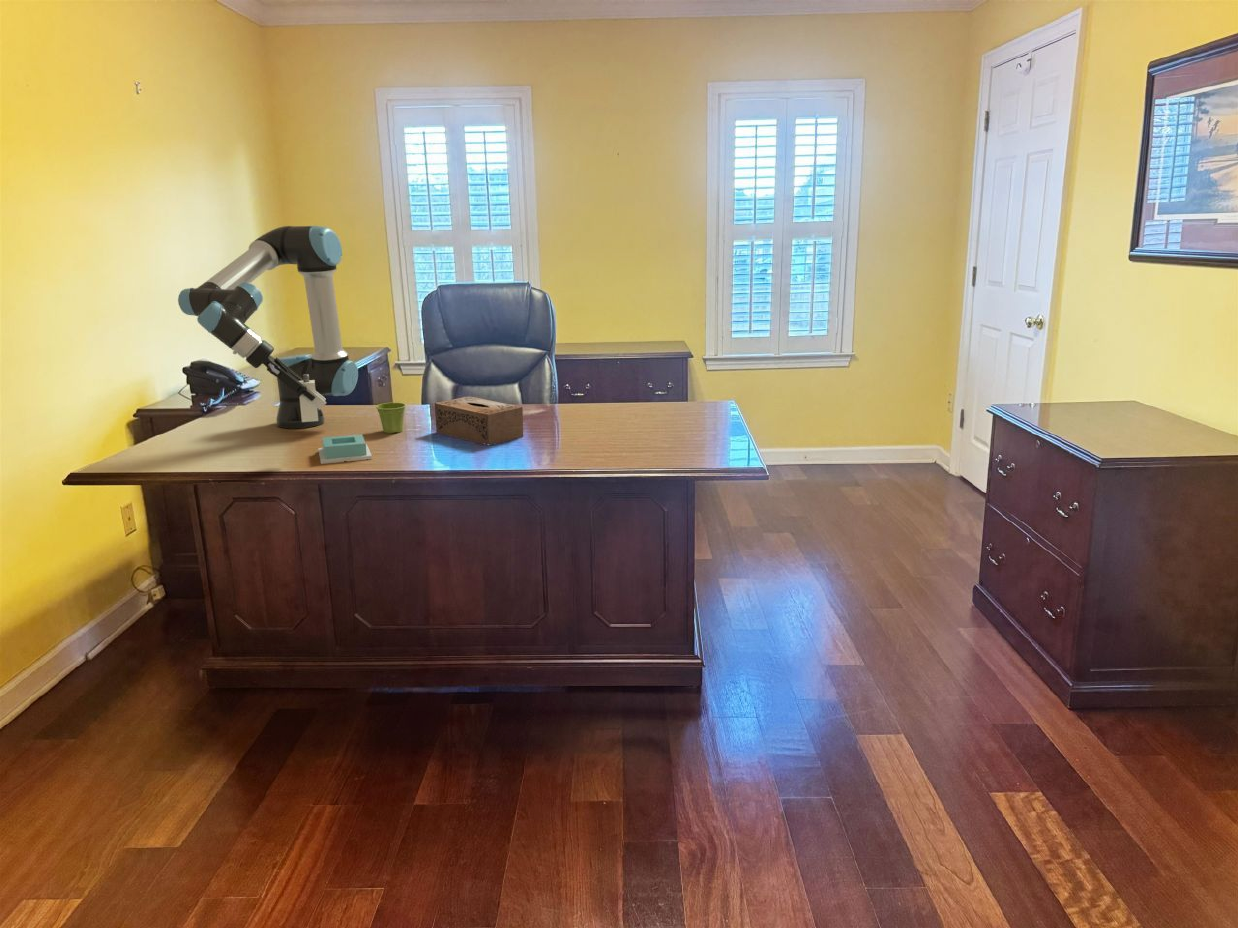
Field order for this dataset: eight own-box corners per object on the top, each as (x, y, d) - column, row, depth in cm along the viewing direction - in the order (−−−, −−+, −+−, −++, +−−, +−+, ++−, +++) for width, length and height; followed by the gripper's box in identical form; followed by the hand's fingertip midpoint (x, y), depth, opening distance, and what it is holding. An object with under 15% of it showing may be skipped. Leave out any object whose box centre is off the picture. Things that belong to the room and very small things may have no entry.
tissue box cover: (523, 437, 265) (522, 407, 263) (489, 446, 255) (488, 414, 252) (470, 425, 281) (469, 396, 278) (436, 433, 271) (434, 403, 268)
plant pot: (399, 435, 266) (397, 409, 264) (372, 434, 268) (370, 407, 265) (412, 428, 275) (410, 403, 272) (386, 427, 277) (384, 401, 274)
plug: (301, 422, 233) (297, 376, 230) (301, 418, 237) (297, 373, 234) (318, 421, 235) (314, 375, 231) (318, 417, 239) (313, 373, 235)
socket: (320, 463, 234) (319, 448, 233) (318, 451, 247) (317, 437, 246) (372, 459, 240) (370, 444, 238) (367, 447, 252) (365, 432, 251)
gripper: (246, 354, 234) (313, 407, 244) (242, 364, 218) (314, 421, 228) (264, 335, 234) (331, 389, 244) (261, 343, 218) (333, 400, 228)
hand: (322, 404), depth 236 cm, fingers closed on plug, 4 cm apart
